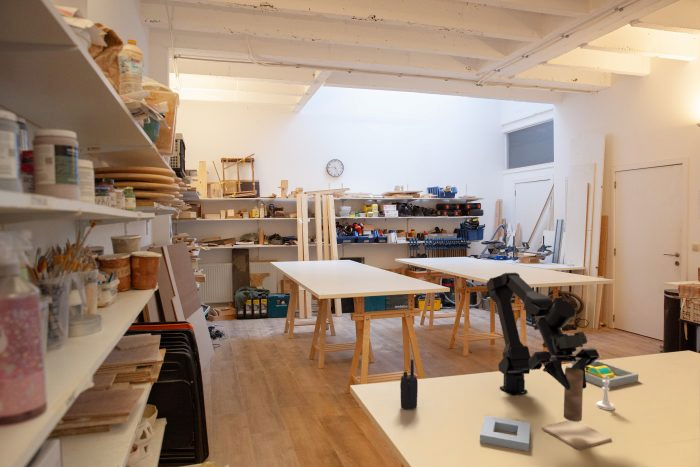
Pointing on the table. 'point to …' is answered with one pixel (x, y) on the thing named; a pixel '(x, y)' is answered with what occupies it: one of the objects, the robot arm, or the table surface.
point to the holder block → (505, 439)
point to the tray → (623, 378)
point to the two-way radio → (409, 389)
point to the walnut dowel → (573, 395)
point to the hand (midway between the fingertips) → (576, 388)
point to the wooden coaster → (576, 434)
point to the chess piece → (605, 396)
